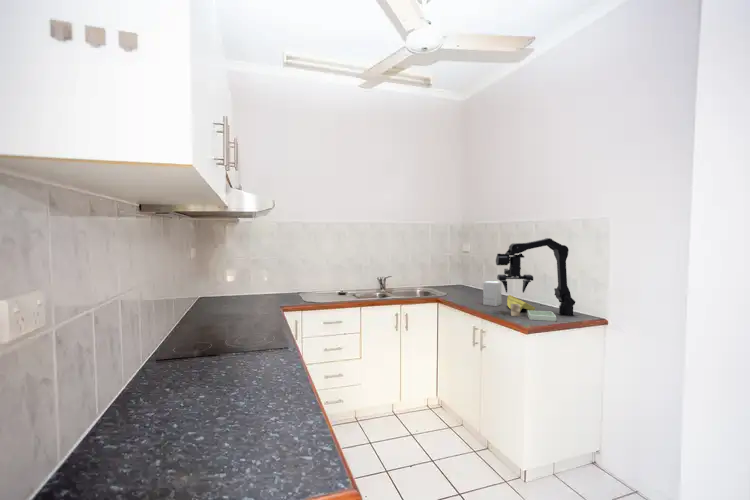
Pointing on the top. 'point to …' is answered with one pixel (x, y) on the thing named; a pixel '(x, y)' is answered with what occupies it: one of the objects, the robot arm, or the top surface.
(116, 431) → the top surface
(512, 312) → the beech block
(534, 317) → the tray
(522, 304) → the plastic component
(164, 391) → the top surface
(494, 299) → the supplement box
